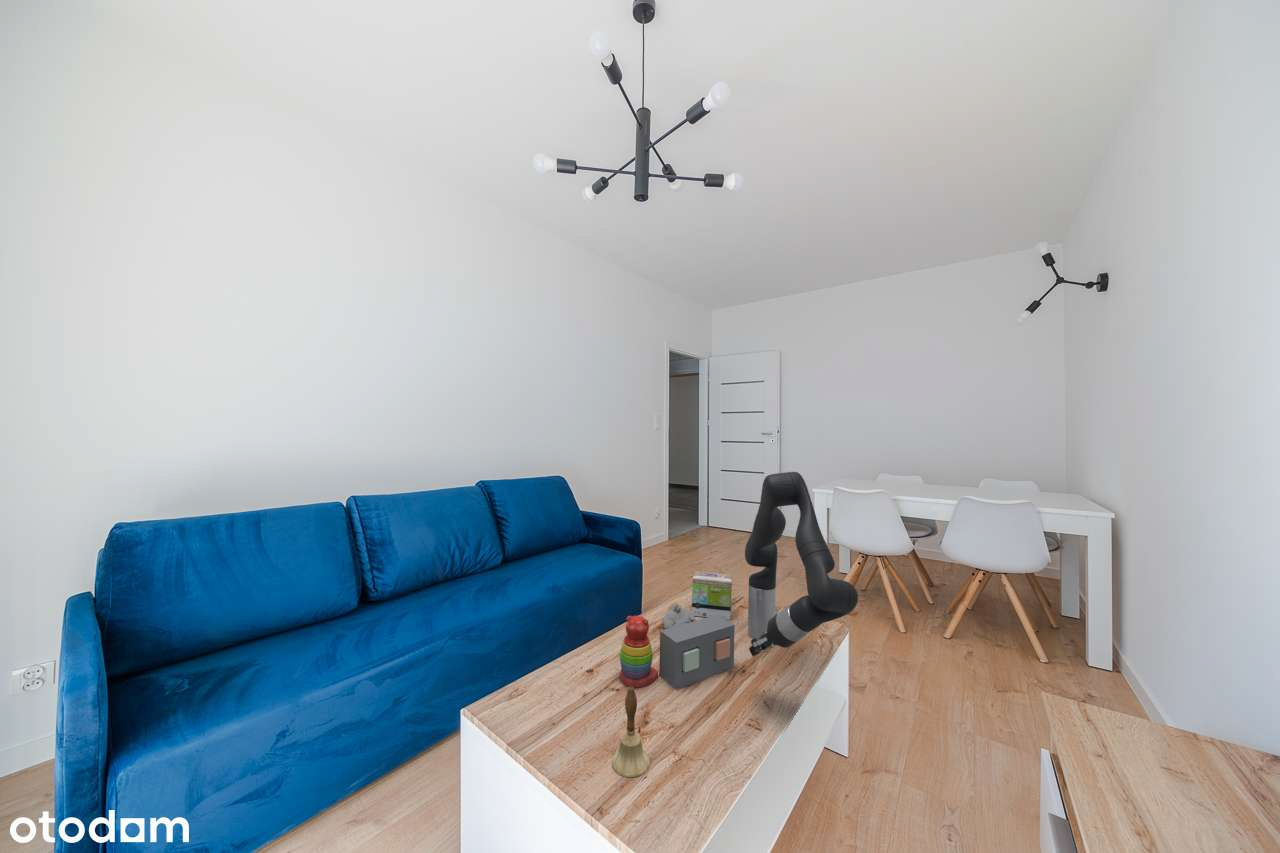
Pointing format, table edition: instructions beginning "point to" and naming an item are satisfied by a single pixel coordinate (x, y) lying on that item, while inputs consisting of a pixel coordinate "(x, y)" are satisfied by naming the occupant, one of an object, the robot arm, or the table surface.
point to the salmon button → (722, 648)
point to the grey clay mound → (677, 617)
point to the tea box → (711, 595)
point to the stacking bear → (636, 654)
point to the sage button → (690, 659)
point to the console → (690, 637)
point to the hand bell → (630, 744)
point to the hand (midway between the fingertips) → (752, 651)
